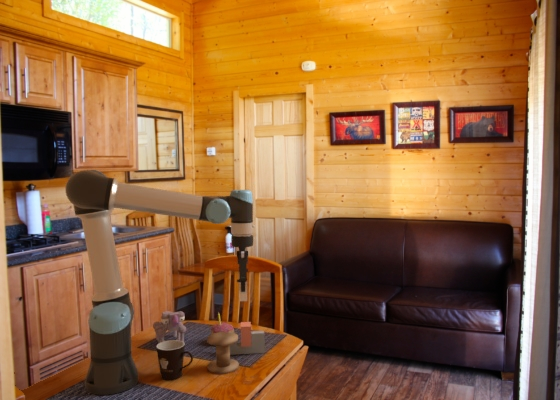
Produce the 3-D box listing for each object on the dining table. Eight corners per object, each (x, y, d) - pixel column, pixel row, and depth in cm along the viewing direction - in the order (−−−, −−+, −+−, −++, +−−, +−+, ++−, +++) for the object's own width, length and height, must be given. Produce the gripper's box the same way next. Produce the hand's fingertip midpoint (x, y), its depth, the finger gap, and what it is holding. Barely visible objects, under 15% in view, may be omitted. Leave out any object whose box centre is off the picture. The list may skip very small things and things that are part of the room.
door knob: (206, 374, 153) (205, 343, 152) (208, 362, 163) (207, 332, 162) (238, 373, 153) (238, 342, 153) (238, 360, 163) (238, 331, 163)
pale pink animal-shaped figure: (194, 351, 172) (191, 314, 171) (164, 358, 167) (161, 320, 166) (180, 334, 190) (177, 300, 189) (152, 340, 185) (149, 305, 184)
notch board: (224, 354, 169) (223, 334, 168) (224, 352, 171) (224, 332, 171) (264, 352, 170) (264, 333, 169) (264, 350, 172) (264, 330, 172)
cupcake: (224, 348, 175) (223, 315, 174) (206, 343, 179) (205, 311, 179) (238, 340, 182) (238, 309, 181) (220, 336, 187) (220, 306, 186)
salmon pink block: (241, 346, 168) (240, 326, 167) (241, 341, 173) (240, 322, 172) (251, 346, 168) (250, 326, 168) (250, 341, 173) (250, 321, 173)
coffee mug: (152, 375, 152) (151, 344, 152) (177, 368, 158) (176, 338, 157) (170, 388, 144) (169, 355, 143) (195, 379, 149) (194, 347, 148)
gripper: (254, 239, 156) (255, 305, 157) (252, 229, 180) (252, 286, 182) (230, 240, 155) (231, 306, 156) (231, 230, 180) (232, 287, 181)
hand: (243, 295), depth 169 cm, fingers open, 13 cm apart
